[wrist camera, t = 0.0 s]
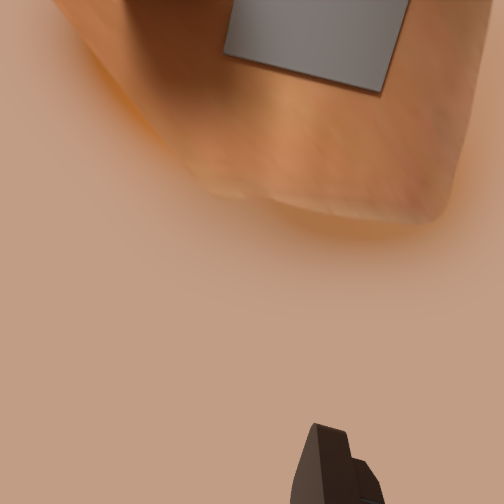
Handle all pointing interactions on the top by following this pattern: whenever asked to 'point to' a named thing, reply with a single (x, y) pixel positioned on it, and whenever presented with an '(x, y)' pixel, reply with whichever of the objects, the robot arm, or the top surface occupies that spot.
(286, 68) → the mat
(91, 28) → the top surface
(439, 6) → the top surface
